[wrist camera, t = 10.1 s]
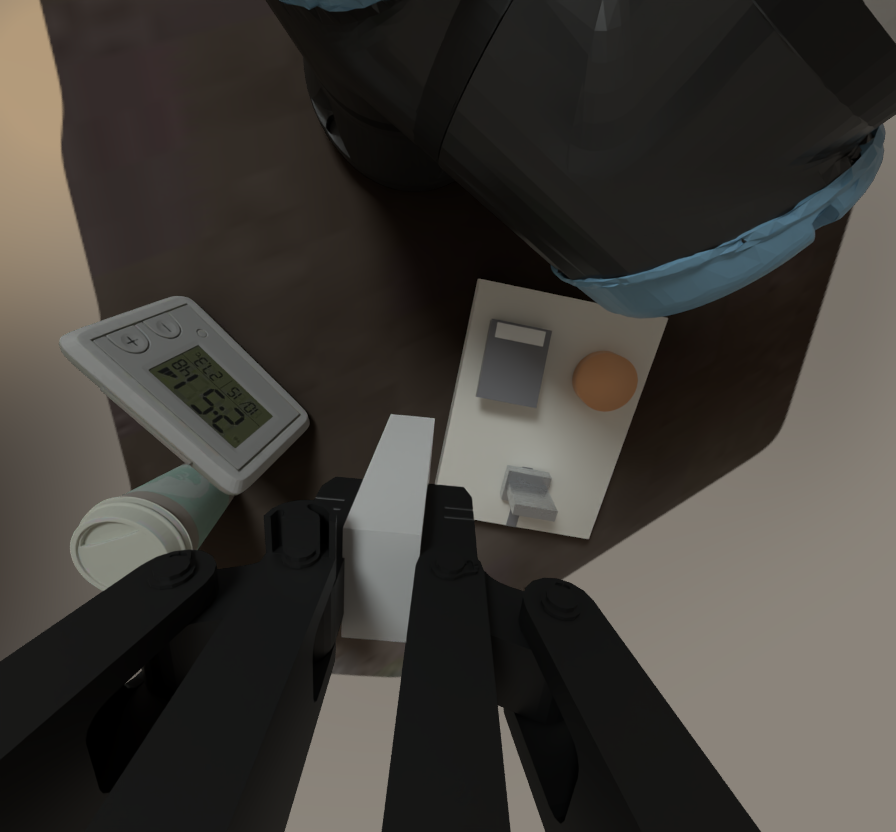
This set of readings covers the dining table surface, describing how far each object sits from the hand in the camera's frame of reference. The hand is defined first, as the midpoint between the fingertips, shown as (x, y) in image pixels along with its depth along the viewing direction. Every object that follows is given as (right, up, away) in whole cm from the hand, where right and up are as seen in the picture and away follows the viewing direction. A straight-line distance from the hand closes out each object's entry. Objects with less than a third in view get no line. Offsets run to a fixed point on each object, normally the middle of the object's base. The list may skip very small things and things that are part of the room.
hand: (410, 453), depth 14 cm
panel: (+10, +2, +26) cm, 28 cm away
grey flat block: (+7, +6, +20) cm, 22 cm away
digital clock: (-19, +5, +25) cm, 31 cm away
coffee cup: (-23, -6, +29) cm, 37 cm away
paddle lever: (+8, -5, +25) cm, 26 cm away
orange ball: (+15, +6, +24) cm, 29 cm away
